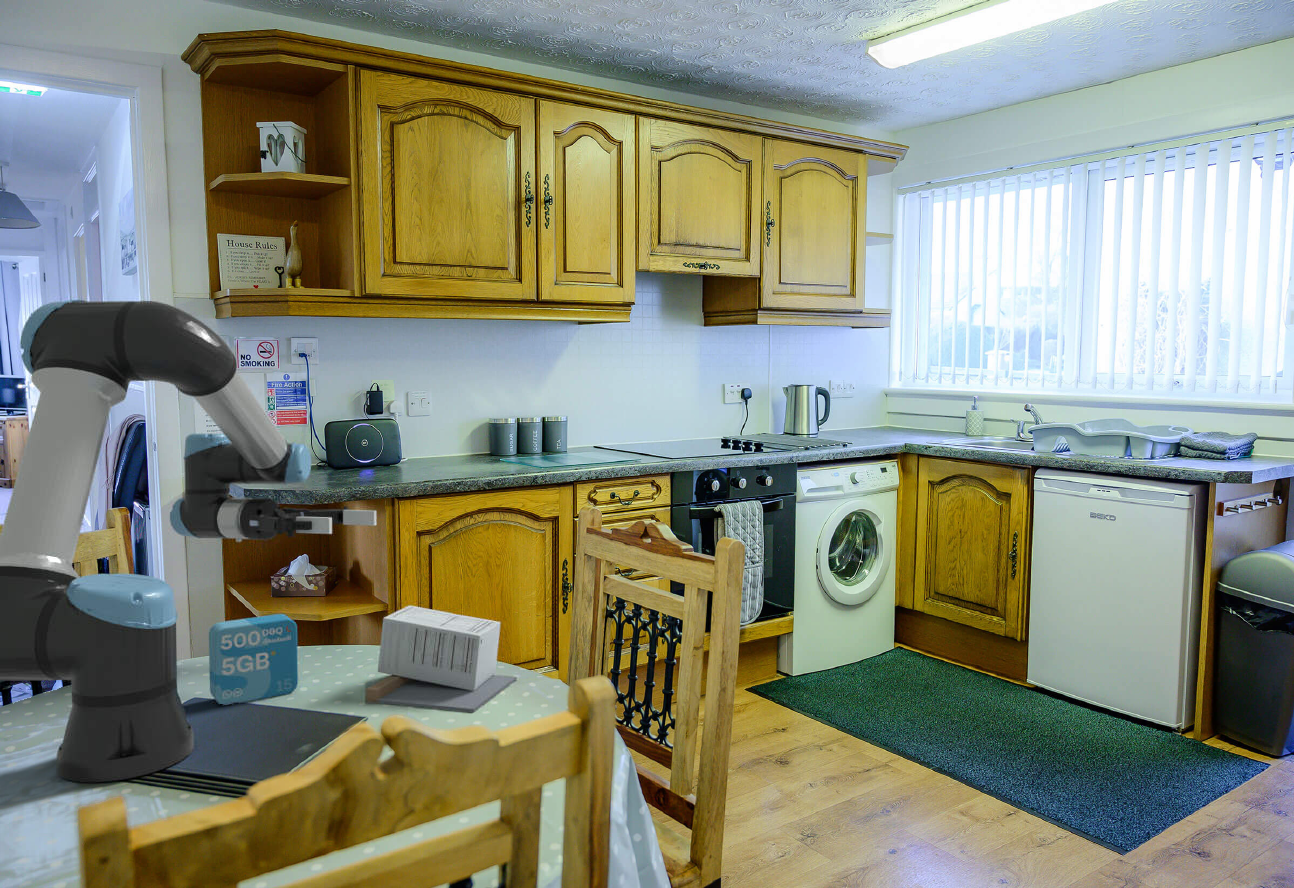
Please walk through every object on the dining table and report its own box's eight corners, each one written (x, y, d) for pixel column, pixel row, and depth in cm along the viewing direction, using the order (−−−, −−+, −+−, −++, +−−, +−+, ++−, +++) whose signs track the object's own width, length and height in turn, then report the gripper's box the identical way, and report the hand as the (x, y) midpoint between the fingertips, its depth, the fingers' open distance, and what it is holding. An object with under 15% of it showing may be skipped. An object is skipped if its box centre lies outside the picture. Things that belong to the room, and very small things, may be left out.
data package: (215, 708, 132) (214, 629, 131) (209, 700, 135) (208, 623, 135) (298, 692, 139) (297, 617, 138) (290, 685, 142) (289, 612, 142)
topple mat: (366, 701, 134) (366, 688, 134) (419, 671, 150) (418, 659, 150) (473, 712, 130) (473, 698, 130) (516, 679, 145) (516, 667, 145)
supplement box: (375, 673, 141) (473, 693, 137) (381, 617, 140) (479, 636, 136) (404, 656, 150) (496, 674, 146) (410, 603, 149) (502, 621, 146)
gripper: (295, 531, 172) (392, 534, 167) (200, 547, 148) (309, 552, 142) (295, 493, 172) (391, 495, 166) (200, 503, 148) (309, 506, 142)
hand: (354, 521), depth 154 cm, fingers open, 13 cm apart
